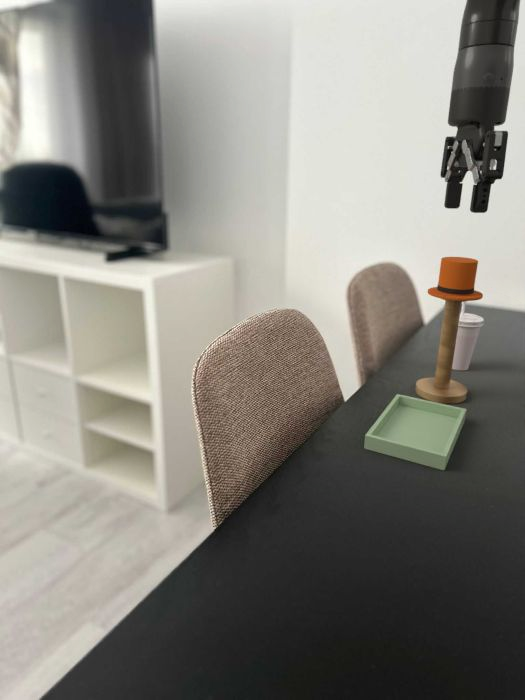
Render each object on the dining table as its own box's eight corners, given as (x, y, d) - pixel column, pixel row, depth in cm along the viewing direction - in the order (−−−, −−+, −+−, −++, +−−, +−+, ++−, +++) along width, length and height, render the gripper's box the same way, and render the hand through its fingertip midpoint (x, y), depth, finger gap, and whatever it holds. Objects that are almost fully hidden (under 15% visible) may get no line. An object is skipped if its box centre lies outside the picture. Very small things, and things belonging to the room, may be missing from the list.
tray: (395, 405, 80) (397, 393, 79) (464, 421, 75) (466, 408, 74) (363, 448, 67) (365, 435, 66) (444, 470, 62) (446, 456, 62)
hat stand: (452, 383, 88) (467, 288, 83) (475, 403, 81) (492, 300, 75) (408, 384, 88) (419, 289, 82) (426, 404, 80) (440, 301, 75)
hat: (467, 288, 83) (472, 255, 81) (492, 300, 75) (498, 264, 74) (419, 289, 82) (423, 255, 80) (440, 301, 75) (445, 264, 73)
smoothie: (443, 358, 100) (454, 288, 95) (478, 365, 97) (490, 292, 92) (436, 368, 95) (446, 294, 90) (472, 375, 92) (485, 299, 87)
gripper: (537, 80, 64) (515, 214, 69) (481, 95, 77) (466, 207, 82) (479, 78, 63) (461, 214, 68) (433, 94, 76) (421, 207, 82)
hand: (464, 210), depth 75 cm, fingers open, 8 cm apart
